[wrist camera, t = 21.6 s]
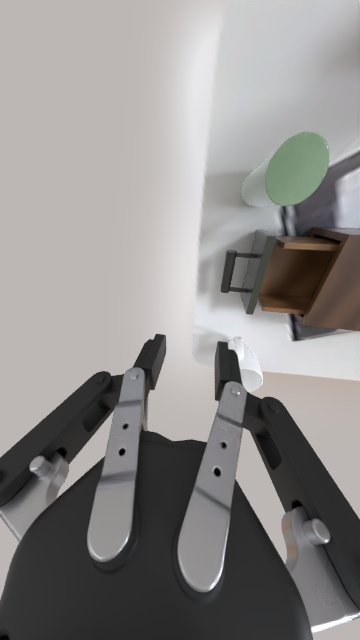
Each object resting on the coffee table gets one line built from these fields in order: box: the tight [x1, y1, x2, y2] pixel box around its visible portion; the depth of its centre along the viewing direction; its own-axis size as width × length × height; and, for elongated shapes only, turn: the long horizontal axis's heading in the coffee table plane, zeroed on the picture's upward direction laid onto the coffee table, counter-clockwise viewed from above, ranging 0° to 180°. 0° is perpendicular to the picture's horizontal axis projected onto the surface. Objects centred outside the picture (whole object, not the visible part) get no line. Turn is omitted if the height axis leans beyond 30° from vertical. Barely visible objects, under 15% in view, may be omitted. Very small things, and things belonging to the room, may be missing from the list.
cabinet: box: [295, 227, 360, 331], centre depth 28 cm, size 15×14×9 cm
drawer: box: [220, 230, 341, 315], centre depth 29 cm, size 18×13×7 cm
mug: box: [228, 337, 263, 392], centre depth 39 cm, size 12×8×11 cm
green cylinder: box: [240, 132, 329, 206], centre depth 20 cm, size 5×5×16 cm
